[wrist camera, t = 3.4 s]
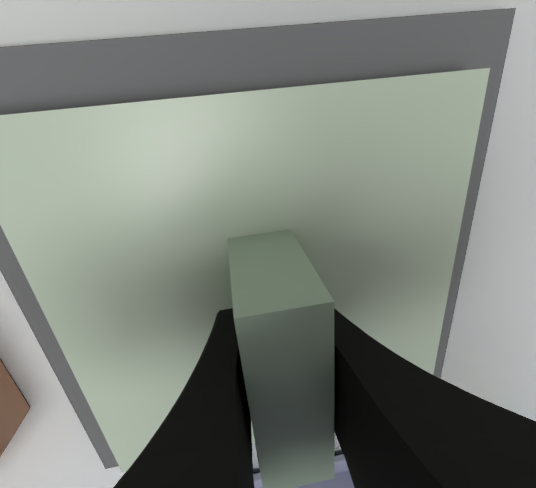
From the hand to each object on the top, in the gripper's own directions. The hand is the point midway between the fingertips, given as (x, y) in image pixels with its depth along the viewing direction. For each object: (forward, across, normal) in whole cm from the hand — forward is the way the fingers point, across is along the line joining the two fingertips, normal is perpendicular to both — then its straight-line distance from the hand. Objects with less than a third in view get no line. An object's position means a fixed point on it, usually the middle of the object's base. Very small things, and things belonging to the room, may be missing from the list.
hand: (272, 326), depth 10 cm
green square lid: (+1, 0, 0) cm, 1 cm away
